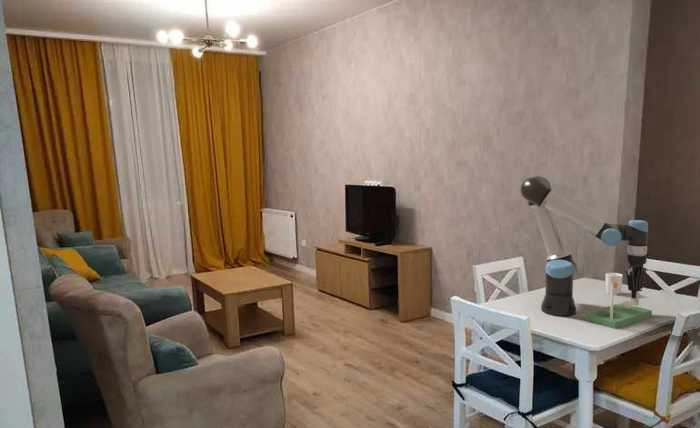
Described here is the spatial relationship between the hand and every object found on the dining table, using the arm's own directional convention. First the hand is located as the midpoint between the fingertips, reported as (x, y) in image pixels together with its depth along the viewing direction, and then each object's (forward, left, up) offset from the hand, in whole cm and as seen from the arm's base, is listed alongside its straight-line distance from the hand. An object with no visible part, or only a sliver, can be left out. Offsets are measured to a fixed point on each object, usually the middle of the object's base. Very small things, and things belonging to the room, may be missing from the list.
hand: (634, 304), depth 216 cm
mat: (-9, -10, -4) cm, 14 cm away
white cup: (-2, +32, -4) cm, 33 cm away
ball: (-4, -5, +1) cm, 6 cm away
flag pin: (-13, -21, -1) cm, 25 cm away
